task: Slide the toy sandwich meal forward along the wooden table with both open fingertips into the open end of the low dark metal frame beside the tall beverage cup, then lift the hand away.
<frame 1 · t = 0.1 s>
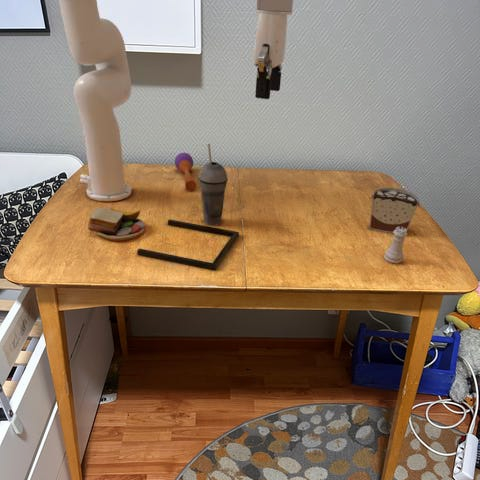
hand: (267, 94, 108), 31 cm above the table, tool pointing down, fingers open, 9 cm apart
toy sandwich meal: (117, 231, 117), on the table
frame: (188, 244, 113), on the table
purple maraca: (186, 179, 148), on the table
rook chess piece: (392, 260, 112), on the table
beverage cup: (212, 222, 124), on the table
food container: (387, 228, 126), on the table
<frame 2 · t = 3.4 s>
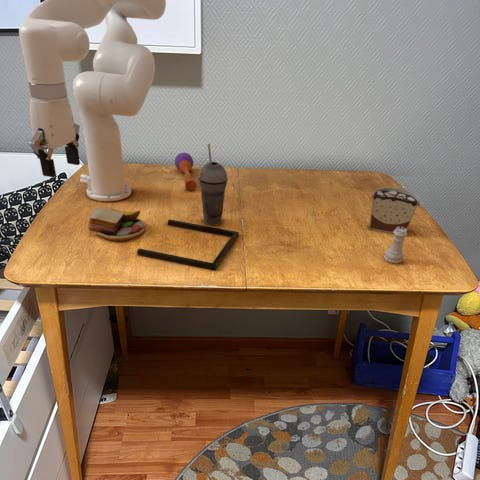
hand: (62, 169, 111), 14 cm above the table, tool pointing down, fingers open, 9 cm apart
nothing on the table moved.
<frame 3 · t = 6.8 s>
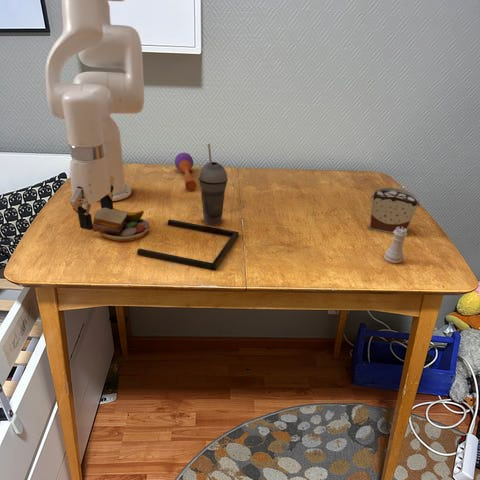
hand: (97, 220, 117), 2 cm above the table, tool pointing down, fingers open, 9 cm apart
toy sandwich meal: (121, 232, 117), on the table, touching gripper
everything else where it was.
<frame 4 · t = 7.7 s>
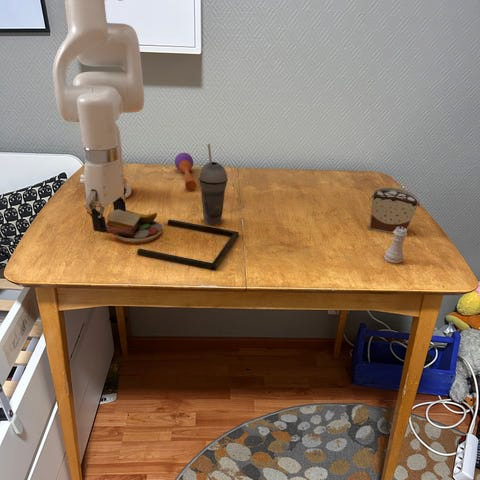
hand: (110, 223, 116), 2 cm above the table, tool pointing down
toy sandwich meal: (134, 234, 116), on the table, touching gripper
everything else where it was.
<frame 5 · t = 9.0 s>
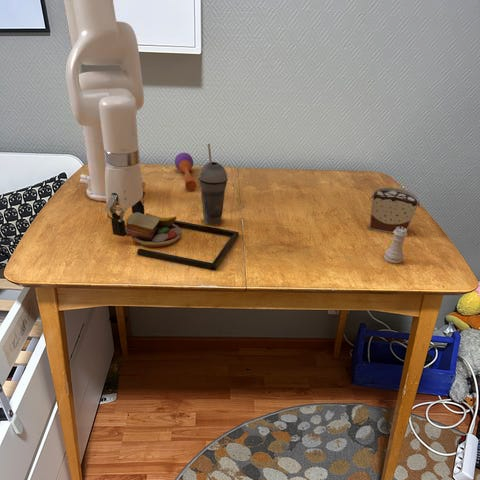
hand: (129, 226, 115), 2 cm above the table, tool pointing down
toy sandwich meal: (153, 237, 116), on the table, touching gripper
everything else where it was.
when the fingers open (2 cm above the table, at t = 10.7 s): toy sandwich meal stays where it is, on the table.
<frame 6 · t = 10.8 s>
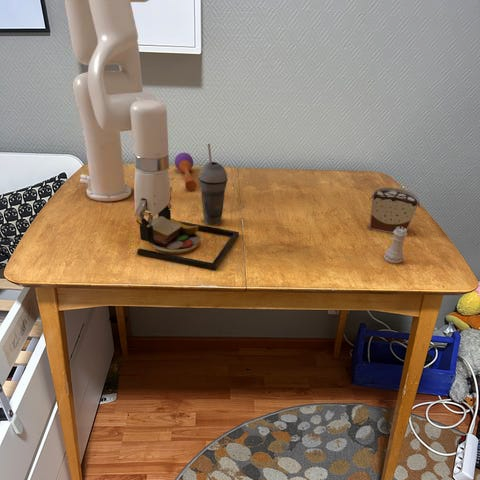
hand: (156, 232, 114), 2 cm above the table, tool pointing down, fingers open, 9 cm apart
toy sandwich meal: (172, 244, 113), on the table, touching gripper
everything else where it was.
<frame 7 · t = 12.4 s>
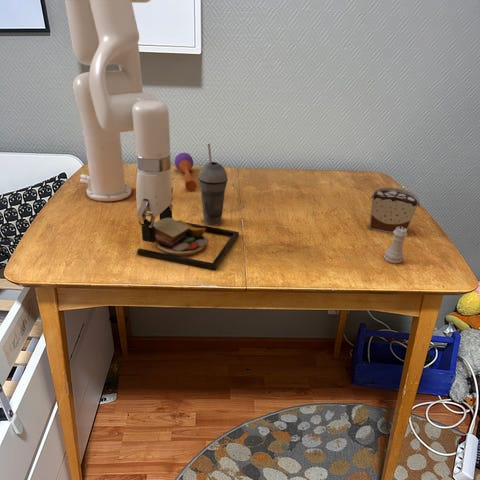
hand: (158, 232, 114), 2 cm above the table, tool pointing down, fingers open, 9 cm apart
toy sandwich meal: (178, 245, 113), on the table
everything else where it was.
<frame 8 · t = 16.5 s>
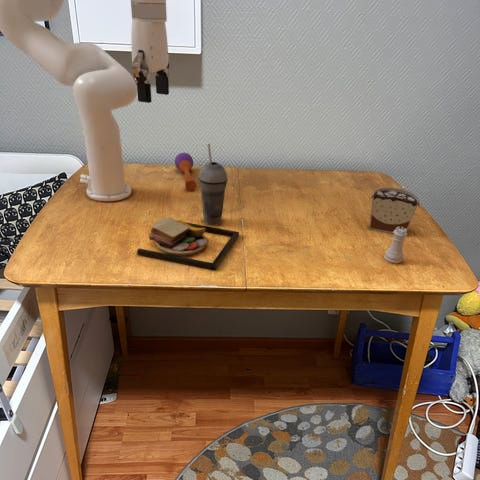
hand: (154, 97, 112), 28 cm above the table, tool pointing down, fingers open, 9 cm apart
nothing on the table moved.
at the end: toy sandwich meal inside the target area on the frame (2.3 cm from its centre), point 0.0 cm above the frame's base; toy sandwich meal 15.8 cm from the beverage cup (horizontally); toy sandwich meal tilted 0° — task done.
